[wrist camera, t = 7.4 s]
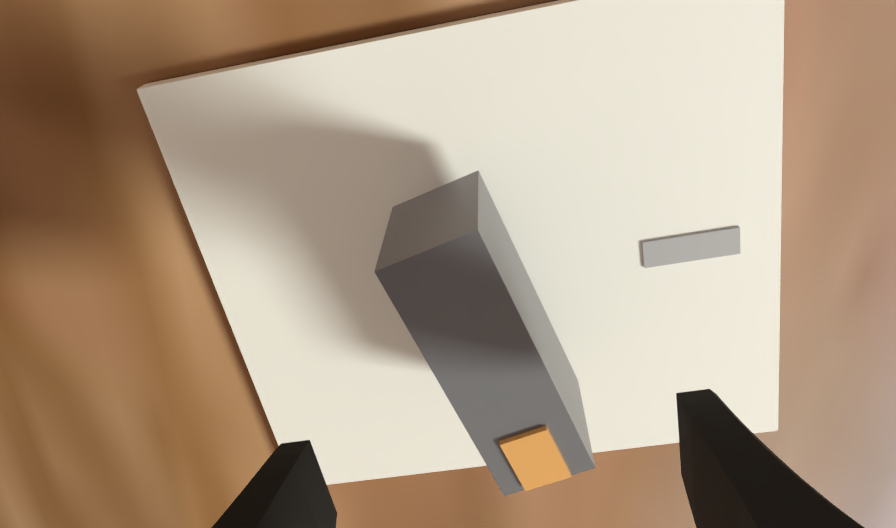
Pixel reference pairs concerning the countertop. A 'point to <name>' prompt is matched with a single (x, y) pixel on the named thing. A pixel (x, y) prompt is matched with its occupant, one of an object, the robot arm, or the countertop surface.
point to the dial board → (519, 205)
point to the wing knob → (485, 334)
